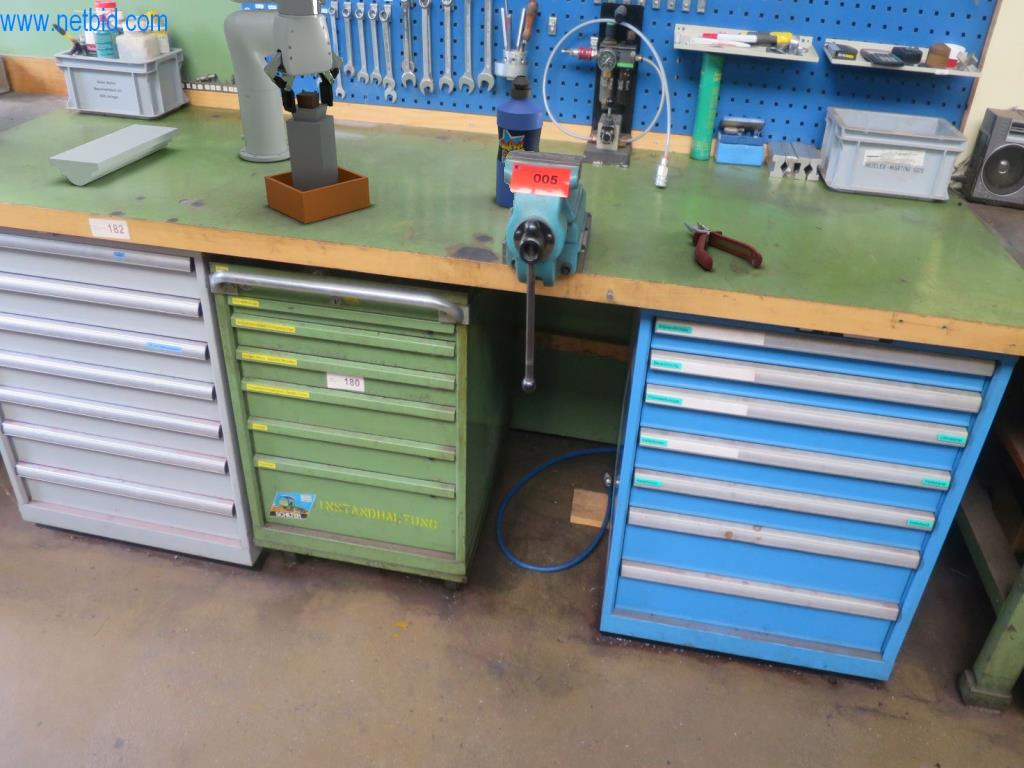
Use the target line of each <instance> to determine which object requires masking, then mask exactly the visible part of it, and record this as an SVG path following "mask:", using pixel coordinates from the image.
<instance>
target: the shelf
mask: <svg viewBox="0 0 1024 768" xmlns="http://www.w3.org/2000/svg"><path fill="white" fill-rule="evenodd" d="M178 136H180V132H179V127H173V126H171V127H170V126H160V125H149V124H136V123H134V124H131V125H128V126H126V127H124V128H121V129H119V130H115V131H114V132H111V133H109V134H108V133H107V134H106V135H104V136H101V137H99V138H96V139H93V140H91V141H89V142H86V143H84V144H81V145H79V146H76V147H73V148H71V149H68V150H65V151H63V152H61V153H58V154H55V155H53V156H50V157H49V158H48V163H49V166H50V167H55V168H56V169H58V170H59V171H60V173H61V175H63V176H66V178H67V179H68V180H69V182H71V183H72V184H73V185H75V186H78V187H82V186H86V185H87V184H90V183H91V182H93V181H95V180H98V179H100V178H102V177H104V176H106V175H108V174H111V173H113V172H115V171H117V170H119V169H122V168H123V167H126V166H128V165H130V164H133V163H135V162H137V161H138V160H141V159H144V158H145V157H148V156H149V155H152V154H154V153H156V152H158V151H160V150H162V149H165V148H166V147H167V146H168V145H169V143H170V142H173V138H175V137H178Z"/></svg>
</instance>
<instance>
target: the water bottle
mask: <svg viewBox="0 0 1024 768" xmlns="http://www.w3.org/2000/svg"><path fill="white" fill-rule="evenodd" d="M531 84H532V81H530V79H529V78H528V77H527V75H522V74H521V75H520V74H519V75H517V76H516V77H514V78H513V79H512V81H511V85H513V86H511V87H510V88H509V96H510V98H509V100H508V101H505V102H503V103H501V104H499V105H497V107H496V126H497V133H498V136H497V137H498V148H497V155H496V172H495V203H496V204H497V205H500V206H502V207H505V208H510V209H513V208H512V207H513V200H514V193H512V192H511V191H510V188H509V185H508V184H506V183H505V182H504V167H505V161H506V156H507V154H508V153H509V152H510V151H513V150H525V151H534V152H539V153H540V141H541V136H542V129H543V126H544V114H545V113H544V112H545V109H544V107H543V106H541V105H540V104H537V103H536V102H534V101H533V100H532V99H531V98H532V94H533V93H532V91H533V88H532V87H531V86H530V85H531Z"/></svg>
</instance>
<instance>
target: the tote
mask: <svg viewBox="0 0 1024 768" xmlns="http://www.w3.org/2000/svg"><path fill="white" fill-rule="evenodd" d="M337 167H338V179H339V183H338V184H334V185H330V186H326V187H322V188H317V189H313V190H309V191H300V190H297V189H295V188H293V180H292V172H291V170H288V171H285V172H280V173H275V174H271V175H266V176H263V179H264V185H265V192H266V200H267V206H268V207H270V208H272V209H274V210H276V211H278V212H281V213H282V214H284V215H286V216H288V217H291V218H293V219H294V220H296V221H298V222H301V223H303V224H305V225H306V224H310V223H314V222H318V221H322V220H325V219H329V218H332V217H337V216H340V215H343V214H347V213H352V212H354V211H358V210H361V209H366V208H369V207H371V197H370V184H369V182H370V181H369V176H366V175H363V174H360V173H358V172H355V171H353V170H350V169H348V168H345V167H342V166H340V165H337Z"/></svg>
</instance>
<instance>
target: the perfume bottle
mask: <svg viewBox="0 0 1024 768" xmlns="http://www.w3.org/2000/svg"><path fill="white" fill-rule="evenodd" d="M295 99H296V113H291V116H292V117H290V118H288V119H286V120H285V126H286V127H285V128H286V135H287V136H286V137H287V145H289V154H290V158H289V161H290V163H289V164H290V169H291V170H290V171H291V172H292V180H293V188H295V189H297V190H300V191H309V190H313V189H317V188H322V187H326V186H330V185H334V184H338V183H339V179H338V167H337V166H338V157H337V144H336V143H337V141H336V133H335V131H336V130H335V117H334V115H333V114H327V110H328V107H329V106H328V104H322V103H321V102H320V92H315V91H307V90H306V91H305V90H302V91H301V92H298V93H297V94H295Z"/></svg>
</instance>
